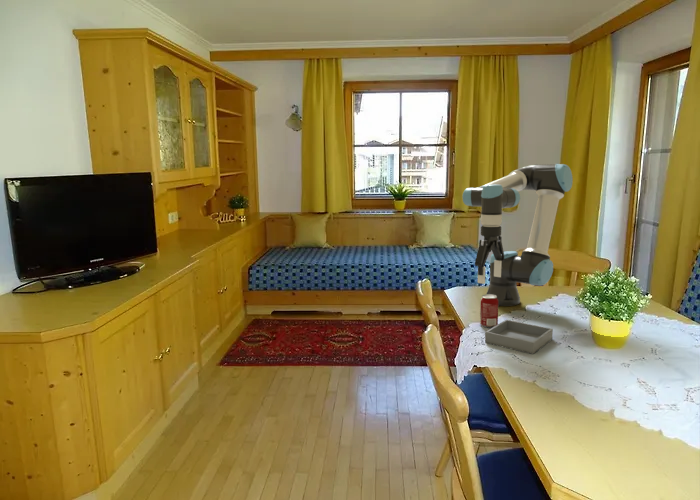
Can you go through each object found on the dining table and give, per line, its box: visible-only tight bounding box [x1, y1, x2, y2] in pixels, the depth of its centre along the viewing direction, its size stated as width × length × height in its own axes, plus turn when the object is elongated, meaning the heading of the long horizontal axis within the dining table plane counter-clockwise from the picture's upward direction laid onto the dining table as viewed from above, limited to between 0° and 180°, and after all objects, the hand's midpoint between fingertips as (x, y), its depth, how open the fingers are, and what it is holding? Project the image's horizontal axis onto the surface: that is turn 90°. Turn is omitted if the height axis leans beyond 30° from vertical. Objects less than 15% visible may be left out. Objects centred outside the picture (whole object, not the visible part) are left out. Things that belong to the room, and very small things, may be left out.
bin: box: [484, 319, 554, 355], centre depth 174 cm, size 17×17×4 cm
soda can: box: [479, 294, 499, 329], centre depth 191 cm, size 7×7×12 cm
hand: (489, 279), depth 188 cm, fingers open, 13 cm apart
